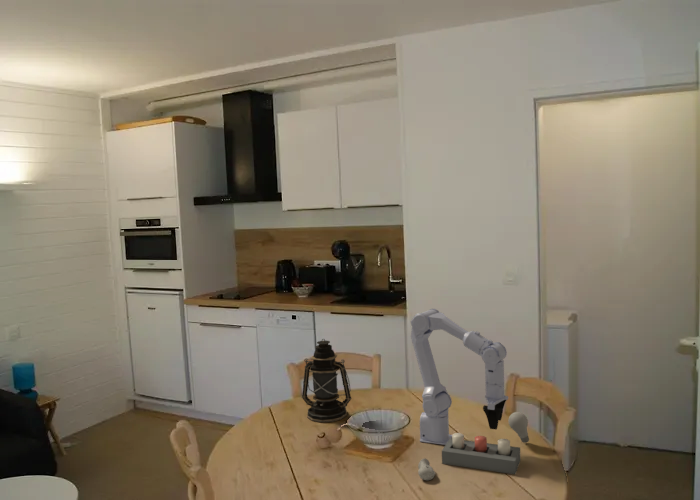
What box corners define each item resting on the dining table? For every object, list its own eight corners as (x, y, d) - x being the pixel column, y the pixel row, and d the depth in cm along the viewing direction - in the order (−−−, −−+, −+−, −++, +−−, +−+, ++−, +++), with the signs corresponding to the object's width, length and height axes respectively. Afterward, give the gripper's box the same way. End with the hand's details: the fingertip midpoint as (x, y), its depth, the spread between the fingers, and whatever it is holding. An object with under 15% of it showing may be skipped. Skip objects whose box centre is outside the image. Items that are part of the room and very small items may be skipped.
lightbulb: (536, 445, 185) (525, 416, 183) (518, 450, 187) (506, 421, 185) (534, 434, 191) (523, 406, 189) (516, 439, 192) (504, 411, 190)
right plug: (497, 454, 173) (496, 442, 173) (499, 449, 176) (498, 438, 176) (509, 456, 171) (508, 444, 171) (511, 451, 175) (510, 439, 174)
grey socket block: (442, 463, 177) (441, 450, 177) (450, 450, 186) (450, 438, 186) (515, 474, 168) (515, 461, 168) (520, 460, 177) (520, 447, 177)
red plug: (473, 451, 176) (473, 439, 176) (476, 446, 179) (476, 435, 179) (485, 453, 174) (485, 441, 174) (488, 448, 178) (487, 436, 177)
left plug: (451, 448, 179) (450, 436, 179) (454, 443, 182) (453, 432, 182) (462, 449, 177) (462, 438, 177) (465, 445, 181) (465, 433, 180)
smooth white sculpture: (433, 486, 166) (416, 481, 166) (432, 473, 174) (416, 468, 174) (437, 473, 165) (420, 467, 166) (436, 460, 173) (420, 455, 174)
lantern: (295, 421, 218) (291, 343, 215) (308, 406, 233) (304, 334, 231) (347, 424, 213) (343, 344, 210) (357, 408, 228) (353, 334, 226)
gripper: (504, 390, 172) (504, 434, 173) (511, 376, 185) (512, 417, 186) (480, 388, 175) (481, 431, 176) (489, 374, 188) (490, 415, 189)
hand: (495, 424), depth 181 cm, fingers open, 7 cm apart
